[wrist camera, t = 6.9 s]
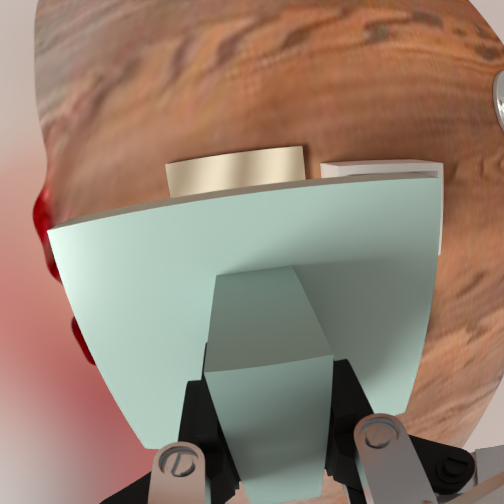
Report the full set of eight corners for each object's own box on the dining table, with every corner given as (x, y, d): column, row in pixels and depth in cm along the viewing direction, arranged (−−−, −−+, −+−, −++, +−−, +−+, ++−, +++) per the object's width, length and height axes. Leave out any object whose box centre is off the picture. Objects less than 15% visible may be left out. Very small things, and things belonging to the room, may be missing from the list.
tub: (413, 159, 30) (443, 163, 25) (413, 238, 34) (440, 254, 28) (320, 163, 30) (338, 166, 25) (326, 251, 34) (342, 271, 28)
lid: (414, 172, 10) (538, 204, 4) (392, 390, 14) (438, 473, 8) (70, 218, 10) (-40, 282, 4) (150, 424, 14) (131, 517, 8)
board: (300, 146, 30) (302, 146, 29) (310, 269, 34) (312, 273, 33) (167, 163, 30) (165, 164, 29) (190, 285, 34) (189, 289, 33)
